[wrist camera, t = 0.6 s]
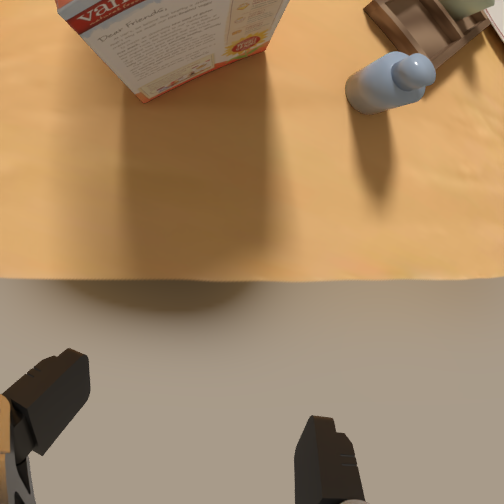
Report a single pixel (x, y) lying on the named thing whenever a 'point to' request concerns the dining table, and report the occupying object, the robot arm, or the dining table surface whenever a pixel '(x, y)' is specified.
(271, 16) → the cracker box
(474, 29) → the caddy
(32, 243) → the dining table surface
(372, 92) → the blue bottle
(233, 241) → the dining table surface
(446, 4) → the green bottle
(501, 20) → the dinner plate
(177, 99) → the dining table surface
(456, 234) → the dining table surface
